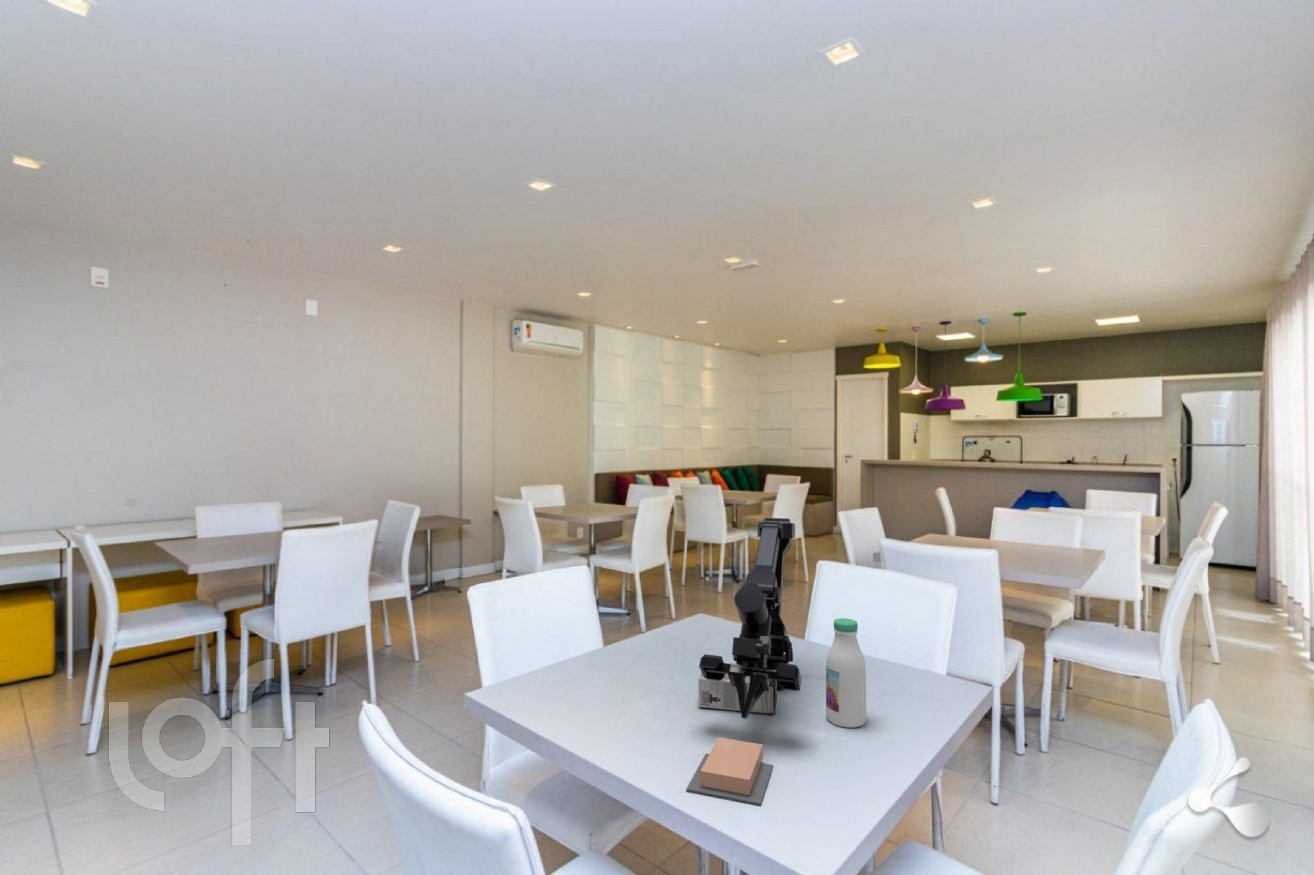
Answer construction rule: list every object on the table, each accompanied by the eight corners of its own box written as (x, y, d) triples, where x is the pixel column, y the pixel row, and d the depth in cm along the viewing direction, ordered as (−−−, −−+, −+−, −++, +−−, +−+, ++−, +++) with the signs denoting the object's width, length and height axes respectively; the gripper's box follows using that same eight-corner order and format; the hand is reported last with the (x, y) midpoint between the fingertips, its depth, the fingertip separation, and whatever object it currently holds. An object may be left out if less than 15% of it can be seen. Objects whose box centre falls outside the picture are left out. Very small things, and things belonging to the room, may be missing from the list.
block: (718, 737, 112) (700, 770, 100) (762, 744, 109) (749, 779, 98) (718, 751, 112) (700, 786, 100) (762, 759, 109) (749, 796, 98)
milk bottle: (866, 714, 128) (865, 617, 128) (866, 731, 120) (865, 628, 120) (827, 709, 130) (827, 613, 130) (824, 725, 123) (824, 624, 123)
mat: (705, 755, 111) (705, 753, 111) (773, 767, 107) (773, 764, 107) (686, 791, 100) (686, 788, 100) (760, 805, 96) (760, 803, 96)
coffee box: (704, 662, 140) (777, 668, 136) (704, 691, 140) (777, 697, 136) (698, 678, 131) (776, 684, 127) (698, 708, 131) (776, 715, 127)
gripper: (701, 613, 121) (685, 692, 111) (798, 622, 115) (791, 707, 105) (711, 640, 129) (697, 716, 119) (803, 650, 122) (797, 731, 112)
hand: (743, 717), depth 113 cm, fingers closed
